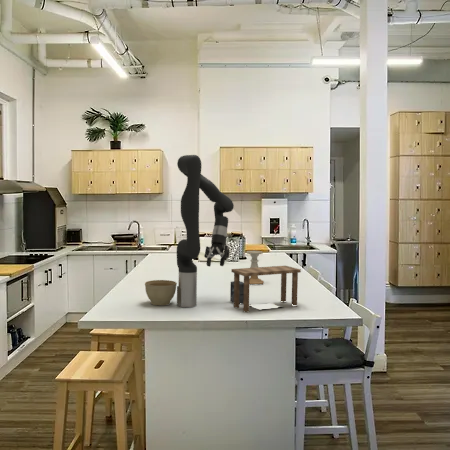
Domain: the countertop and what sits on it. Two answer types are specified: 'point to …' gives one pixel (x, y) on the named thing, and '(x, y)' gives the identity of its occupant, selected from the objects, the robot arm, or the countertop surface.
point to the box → (241, 292)
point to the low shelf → (264, 271)
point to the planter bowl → (160, 291)
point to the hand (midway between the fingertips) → (214, 266)
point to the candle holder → (254, 266)
